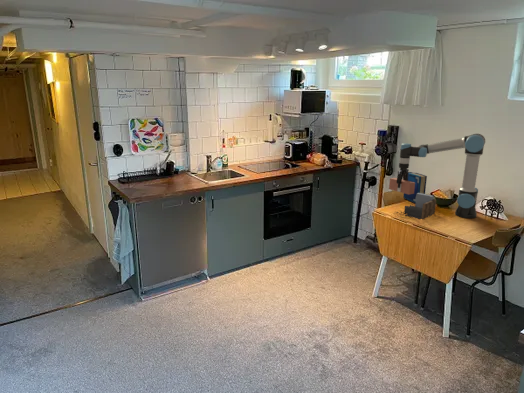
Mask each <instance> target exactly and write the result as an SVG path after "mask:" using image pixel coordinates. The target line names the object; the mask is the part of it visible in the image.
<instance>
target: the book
mask: <svg viewBox="0 0 524 393" xmlns="http://www.w3.org/2000/svg"><path fill="white" fill-rule="evenodd" d="M427 177H428V176H427V175H425V174H422V173H419V172H412V171H408V181H411V182H415V189H414V194H405V193H403V199H405V200H407V201H408V202H411V203H413V204H415V203H416V195H417V193H422V194H426V188H427V187H426V186H427Z"/></svg>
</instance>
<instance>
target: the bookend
mask: <svg viewBox="0 0 524 393" xmlns="http://www.w3.org/2000/svg"><path fill="white" fill-rule="evenodd" d="M403 211H404V212H403V213H404V214H405V216H407V217H410V218H413V219H416V220H417V219H418V220H422V219H421V216H422V208H420V207H416V206H415V205H412V204H410V205H405V206H404V210H403Z"/></svg>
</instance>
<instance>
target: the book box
mask: <svg viewBox="0 0 524 393" xmlns="http://www.w3.org/2000/svg"><path fill="white" fill-rule="evenodd" d="M401 184H402V185H401V192H400V193H402V194H404V193H405V194H414V189H415V182H411V181H407V180H403V178H402V182H401ZM397 188H398V184H397V177H390V178H389V185H388V189H389V190H392V191H395V192H398V191H397Z"/></svg>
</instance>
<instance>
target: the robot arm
mask: <svg viewBox="0 0 524 393" xmlns="http://www.w3.org/2000/svg"><path fill="white" fill-rule="evenodd" d="M485 144H486V138H485V136H484V135H483V134H481V133H473V134H471V135H465V136H463V137H461V138H455V139H450V140H443V141H439V142H432V143H428V144H420V145H418V146H412V144H411V143H408V142H407V143H405V142H402V143H401V145H400V151H399V163H398V168H399V170H397V177H396V178H397V184H398V188H397V191H396V192H398V193H402V192H401V185H402V184H401V182H402V179H403V180H407V181H408V172H410V171H409V168H410V158H411V157H414V158H415V157H416V158H426V157H427V155H428V154H434V153H440V152H441V153H442V152H448V151H454V150H459V149H460V150H461V149H464V154H465V155H466V157H465V163H464V171H463V179H462V183H461V184H462V185H461V187H460V188H459V191H458V197H457V198H456V202H457V204H458V206H457V207H456V209H455V212H454V215H455V216H457V217H459V218H464V219H475V218H477V214H478V213H477V208H476V205H477V199H478V194H479V188H477V187H476V183H477V176H478V170H479V164H480V158H481V156H482V155H483V154H484V147H485Z"/></svg>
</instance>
